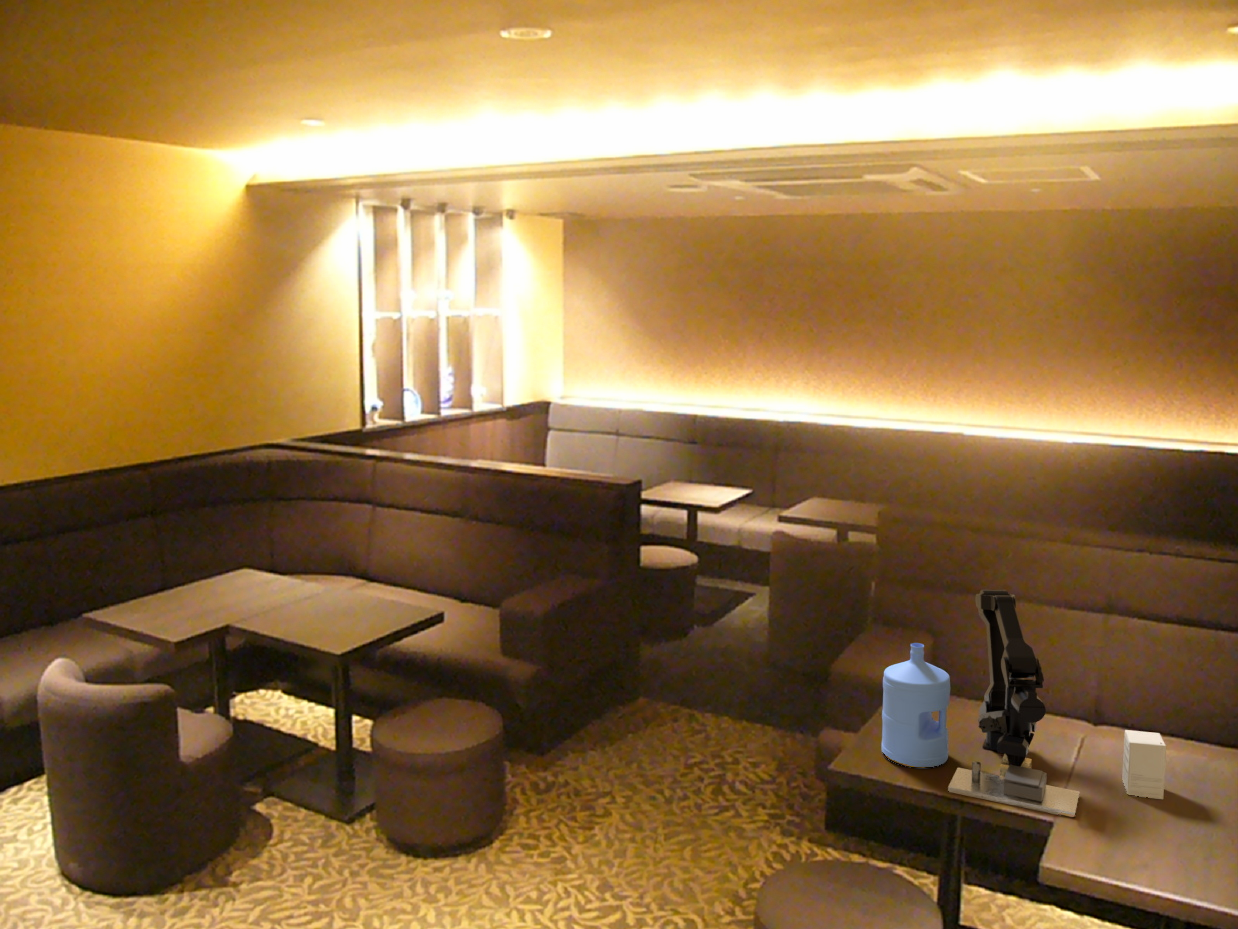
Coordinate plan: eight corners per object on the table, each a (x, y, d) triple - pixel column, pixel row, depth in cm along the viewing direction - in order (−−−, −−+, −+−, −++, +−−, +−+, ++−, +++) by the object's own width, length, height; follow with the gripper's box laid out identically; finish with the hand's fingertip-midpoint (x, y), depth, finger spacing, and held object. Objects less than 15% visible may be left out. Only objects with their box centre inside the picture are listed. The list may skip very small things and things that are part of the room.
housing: (1009, 779, 224) (1009, 764, 223) (1046, 786, 220) (1046, 771, 219) (1003, 793, 217) (1004, 778, 216) (1041, 801, 213) (1042, 786, 212)
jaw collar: (1003, 766, 234) (1004, 754, 233) (1031, 771, 231) (1031, 759, 230) (999, 776, 229) (1000, 763, 228) (1027, 781, 226) (1028, 769, 225)
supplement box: (1157, 785, 223) (1160, 732, 221) (1163, 800, 216) (1167, 746, 214) (1121, 781, 225) (1124, 728, 223) (1126, 796, 218) (1129, 741, 216)
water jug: (873, 761, 237) (876, 649, 233) (890, 738, 251) (892, 631, 247) (940, 775, 229) (944, 659, 226) (953, 750, 243) (957, 640, 239)
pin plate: (957, 772, 231) (958, 749, 230) (1079, 796, 218) (1080, 772, 217) (948, 791, 221) (948, 768, 221) (1074, 818, 209) (1076, 793, 208)
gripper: (988, 686, 239) (986, 747, 241) (974, 713, 223) (972, 778, 225) (1037, 694, 234) (1035, 756, 236) (1027, 722, 218) (1024, 788, 220)
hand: (1015, 769), depth 229 cm, fingers closed on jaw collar, 6 cm apart
